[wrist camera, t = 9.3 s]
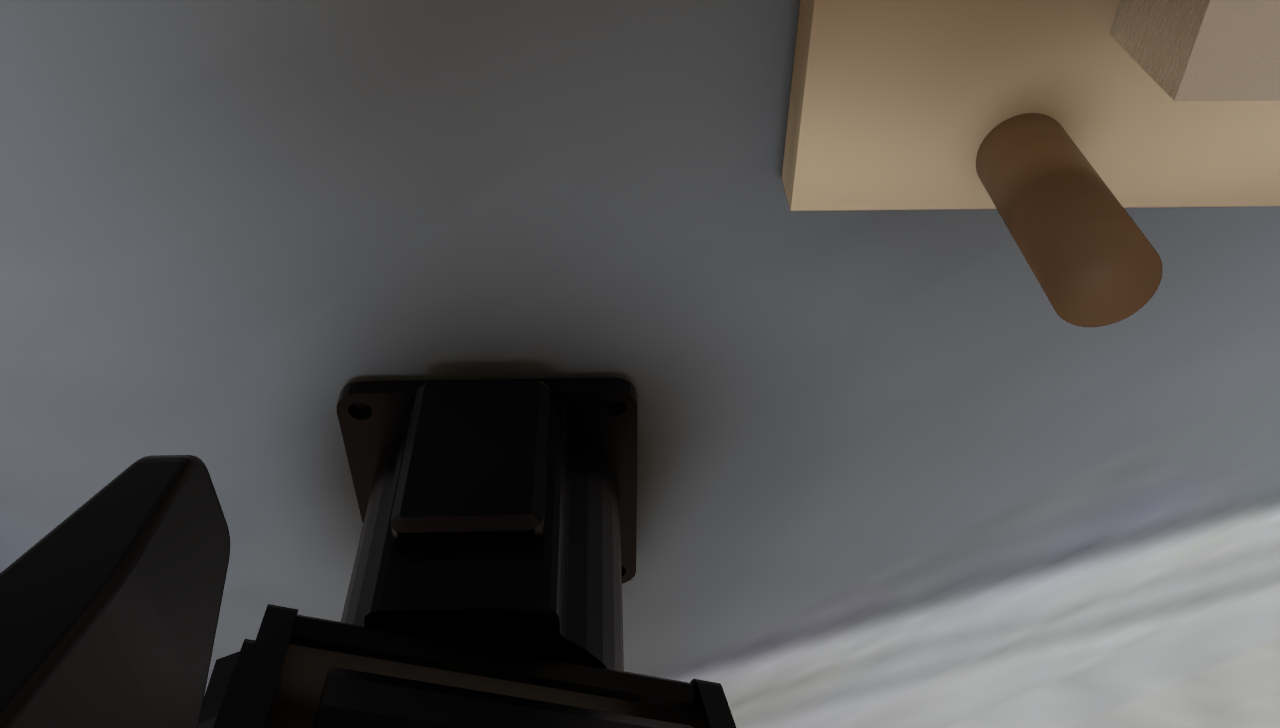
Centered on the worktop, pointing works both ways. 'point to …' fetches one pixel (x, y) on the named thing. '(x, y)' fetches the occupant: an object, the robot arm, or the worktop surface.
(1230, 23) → the beige stepped post
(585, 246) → the worktop surface
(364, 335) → the worktop surface
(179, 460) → the robot arm
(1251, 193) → the peg board
